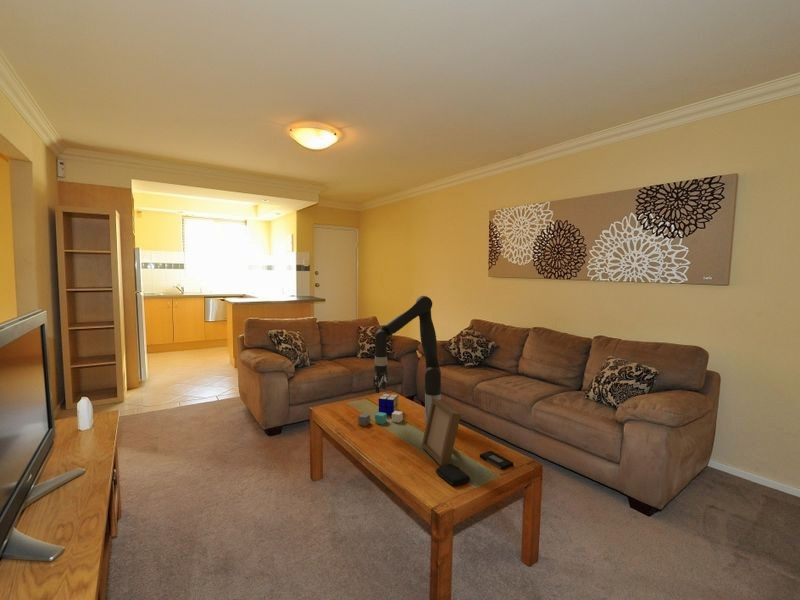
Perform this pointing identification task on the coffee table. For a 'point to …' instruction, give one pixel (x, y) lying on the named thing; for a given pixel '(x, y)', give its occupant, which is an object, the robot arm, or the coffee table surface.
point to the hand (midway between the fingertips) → (380, 390)
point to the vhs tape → (496, 460)
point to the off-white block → (397, 416)
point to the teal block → (380, 418)
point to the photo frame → (441, 431)
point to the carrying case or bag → (453, 475)
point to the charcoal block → (364, 419)
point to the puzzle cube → (388, 403)
